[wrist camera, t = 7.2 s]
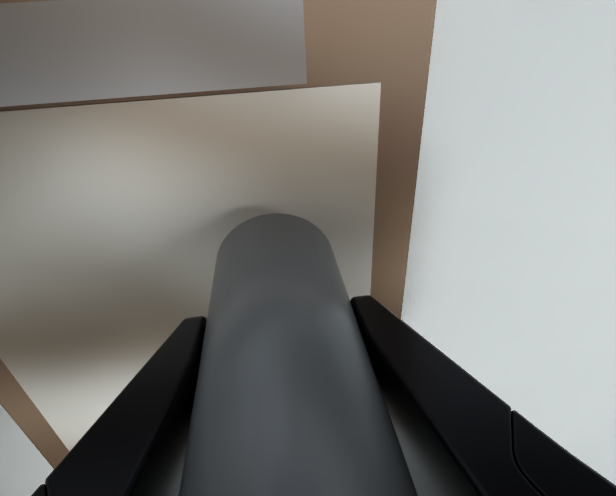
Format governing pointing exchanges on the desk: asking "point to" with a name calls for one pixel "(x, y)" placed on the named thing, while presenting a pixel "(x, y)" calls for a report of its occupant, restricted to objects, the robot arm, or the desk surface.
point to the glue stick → (287, 377)
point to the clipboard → (186, 171)
